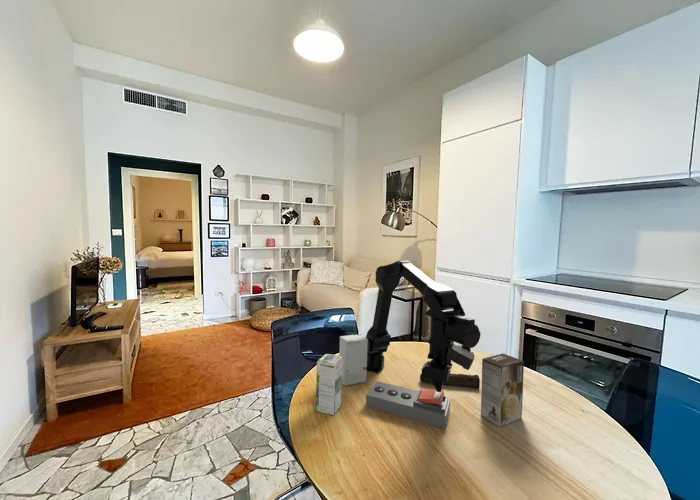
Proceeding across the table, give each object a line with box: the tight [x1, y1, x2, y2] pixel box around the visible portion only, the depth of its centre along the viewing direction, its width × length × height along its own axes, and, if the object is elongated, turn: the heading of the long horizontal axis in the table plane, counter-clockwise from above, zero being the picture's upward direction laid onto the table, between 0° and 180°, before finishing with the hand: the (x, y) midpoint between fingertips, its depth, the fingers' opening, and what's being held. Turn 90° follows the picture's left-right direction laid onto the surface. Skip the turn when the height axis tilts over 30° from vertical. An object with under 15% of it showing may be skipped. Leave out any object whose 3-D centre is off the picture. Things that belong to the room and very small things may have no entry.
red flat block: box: [418, 389, 445, 404], centre depth 82 cm, size 6×5×1 cm
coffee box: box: [480, 353, 525, 428], centre depth 82 cm, size 9×6×16 cm
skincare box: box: [338, 334, 368, 387], centre depth 101 cm, size 8×6×15 cm
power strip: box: [365, 380, 451, 430], centre depth 85 cm, size 22×9×4 cm, turn 65°
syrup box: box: [315, 353, 343, 416], centre depth 84 cm, size 6×6×14 cm
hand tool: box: [419, 372, 481, 390], centre depth 100 cm, size 19×4×5 cm, turn 79°
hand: (438, 391), depth 81 cm, fingers closed
